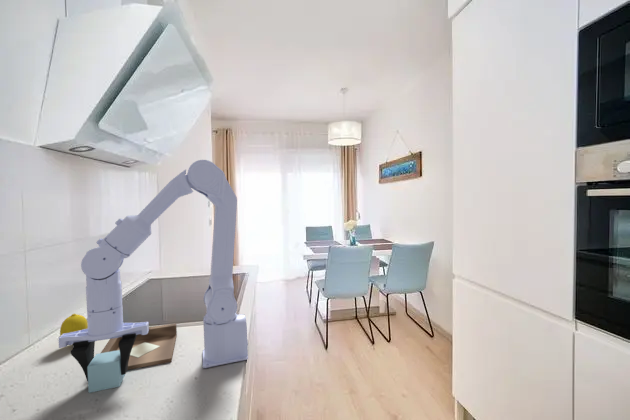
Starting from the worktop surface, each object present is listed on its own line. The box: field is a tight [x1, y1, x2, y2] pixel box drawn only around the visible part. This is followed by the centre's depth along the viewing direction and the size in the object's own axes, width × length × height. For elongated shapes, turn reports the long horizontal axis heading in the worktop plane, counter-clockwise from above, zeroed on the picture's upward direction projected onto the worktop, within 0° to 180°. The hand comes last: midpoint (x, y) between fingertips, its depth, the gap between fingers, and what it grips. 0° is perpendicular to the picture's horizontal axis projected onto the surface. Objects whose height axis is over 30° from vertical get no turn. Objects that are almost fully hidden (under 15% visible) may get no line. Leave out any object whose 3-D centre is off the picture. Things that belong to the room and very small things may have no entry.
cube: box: [87, 350, 126, 394], centre depth 59 cm, size 5×5×5 cm
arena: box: [100, 323, 178, 371], centre depth 70 cm, size 14×14×3 cm
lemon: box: [59, 313, 88, 337], centre depth 75 cm, size 6×6×8 cm
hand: (108, 375), depth 59 cm, fingers closed on cube, 5 cm apart
